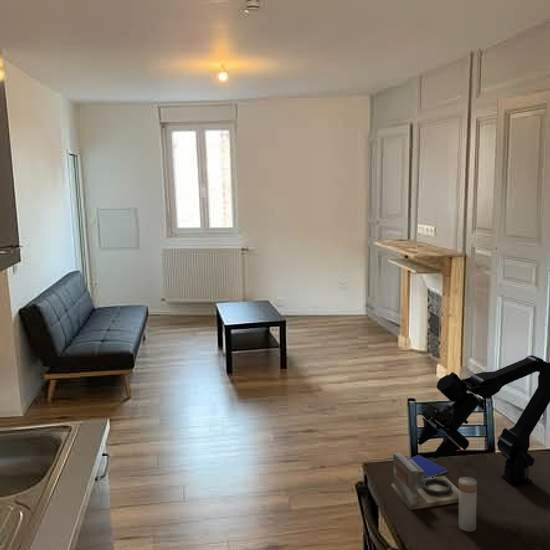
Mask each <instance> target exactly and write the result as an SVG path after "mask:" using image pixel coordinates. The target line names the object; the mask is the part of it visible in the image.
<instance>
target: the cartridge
mask: <svg viewBox="0 0 550 550" xmlns="http://www.w3.org/2000/svg"><path fill="white" fill-rule="evenodd" d="M458 489H459V502H458V527H459V529H460V530H462V531H464V532H474V531H476V529H477V490H478V482H477V480H476V479H475V478H473V477H470V476H462V477H459V479H458Z"/></svg>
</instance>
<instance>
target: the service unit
mask: <svg viewBox="0 0 550 550" xmlns="http://www.w3.org/2000/svg"><path fill="white" fill-rule="evenodd" d="M392 455H393V456H392V457H393V462H392V463H393V483H391V487H392V488H393V489H392V488H391V489H392V490H393V491H394V492H395V493H396V495H397V496H398V497H399V499H401V501H402V502H403V503H404V504H405V506H407V507H408V509H409V510H411V511H412V510H419V509H425V508H431V507H435V506H436V507H437V506H445V505H449V504H456V503H459V487H457V486H455V484H453V482H451V481H450V480H449V479H448V478H447V477H446V476H445V475H438V476H435V477H433V478H426V477H424V471H423V470H422V469H421V468H420V467H419V466H418V465H417V464H416V463H415V462H414V461H413V460H412V459H410V460H407V459H408V458H406V457H405V456H404V455H403V454H402V453H401V452H393V454H392Z"/></svg>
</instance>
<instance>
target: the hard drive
mask: <svg viewBox="0 0 550 550" xmlns="http://www.w3.org/2000/svg"><path fill="white" fill-rule="evenodd" d="M406 459H407V460H410V459H412V460H413V461H414V462H415V463H416V464H417V465H418V466H419V467H420V468H421V469H422V470H423V471H424V476H425V477H424V478H426V477H427V478H432V477H439V476H442V475H443V474H446V473H448V469H447V468H446V467H443V466H441V465H440V464H437V463H435V462H433V461H431V460H430V459H428V458H426V457H424V456H422V455H420V454H417V455H414V456H412V457H408V458H406Z"/></svg>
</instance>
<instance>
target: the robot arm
mask: <svg viewBox="0 0 550 550" xmlns="http://www.w3.org/2000/svg"><path fill="white" fill-rule="evenodd" d="M536 372H538V376H537V388H536V389H535V391H534V392H533V394H532V396H531V397H530V400H529V401H528V403H527V405H526V406H525V407H524V409H523V411H522V413H521V414H520V415H519V417H518V419H517V421H516V423H515V425H514V426H512V427H511V428H510V429H508V428H507V427H504V428H503V429H502V431H501V433H500V435H499V436H498V437H497V439H498V440H497V443H496V445H497V449H498V451H499V452H500V453H501V456H502V457H504V458H506V460H505V461H504V462H505V465H504V471H503V472H504V474H502V475H501V476H500V477H501V478H502V479H504V480H505V481H507V482H509V483H510V484H511V485H513V486H515V487H519V486H523V485H526V484H531V483H533V479H531V478H529V470H530V467H533V466H534V463H535V458H534V457H533V456H531V455H530V454H529V452H528V451H529V450H530V446H531V445H530V444H531V443H530V439H531V438H530V437H531V434H532V433H533V431H534V430H535V428H536V426H537V424H538V423H539V421H540V419H541V418H542V416H543V414H544V413H545V411H546V409H547V408H548V406H549V404H550V361H549V362H547V361H545V360H544V359H543V358H540V357H538V356H535V355H527V356H526V357H525V358H523V359H520V360H517V361H516V362H513V363H511V364H509V365H506V366H504V367H502V368H499V369H496V370H494V371H493V370H492V371H481V372H478V373H473V374H472V375H470V376H469V377H467V378H463V379H461V378H460V377H459V375H458V374H456V373H455V372H454V371H452V372H450V373H449V374H446V375H444V376H442V377H441V378H439V379H438V381H437V382H436V389H437V390H438V391H439V392H440V393H441V394H442V395H443V396H445V398H446V399H448V400H449V401H450V402H452V404H451V405H449V404H445V406H441V405H437V404H435V403H432V402H428V404H427V406H426V409H425V410H424V411H423V412H422V413H421V416H422V421H423V423H422V424H423V427H422V430H421V433H420V435H419V438H418V440H417V445H419V446H422V445H423V444H424V443H427V442H428V441H429V440H430V439H431V438H433V437H434V436H436V435H437V434H438V433H439V430H441V431H443V432H444V433H443V435H442V441H441V443H440V444H439V445H438V447H437V448H436V450H435V451H434V452H433V453H432V455H431V456H432V458H434V459H435V460H436V459H438V458H441V457H443V456H446V455H448V454H450V453H451V454H452V453H453V452H458V451H460V452H461V451H462V450H463V451H466V450H467V449H468V447H469V446H470V440H469V439H467V437H465V436H464V435H463V434H462V433H461V432H460V431H458V430H459V429H460V428H461V427H462V426H463V425H464V424H465V425H467V424H468V423H469V421H468V418H469V417H470V416H471V415H472V413H474V411H475V410H476V409H477V408H480V409H481V410H483V411H484V410H485V400H484V399H489V398H492V397H493V396H495V395H496V394H498V393H499V392H500V391H501V389H502V388H503V387H505V386H506V385H508V384H511V383H513V382H516V381H518V380H520V379H523V378H525V377H527V376H529V375H532V374H534V373H536ZM476 395H477V396H479V397H477V396H476ZM483 398H484V399H483Z"/></svg>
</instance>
